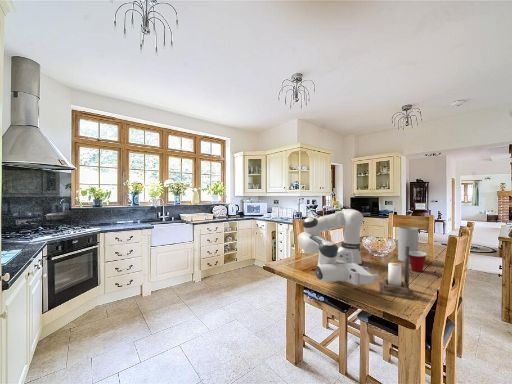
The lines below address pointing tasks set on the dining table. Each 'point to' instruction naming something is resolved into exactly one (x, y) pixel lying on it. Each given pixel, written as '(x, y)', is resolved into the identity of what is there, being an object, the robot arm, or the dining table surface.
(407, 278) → the roll holder
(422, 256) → the plastic cup
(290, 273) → the dining table surface
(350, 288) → the dining table surface
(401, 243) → the cylinder vase
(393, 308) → the dining table surface
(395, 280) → the paper roll
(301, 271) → the dining table surface
